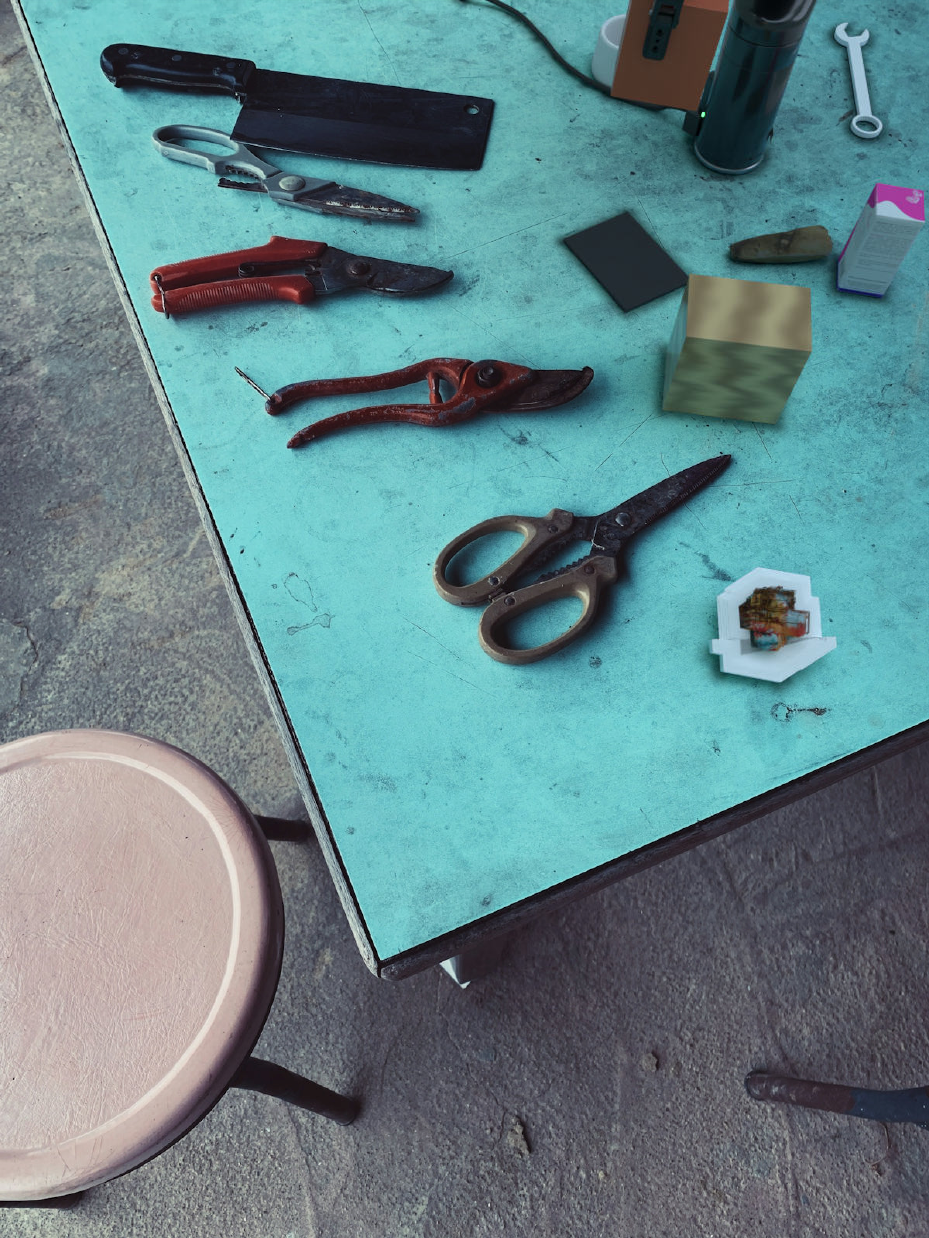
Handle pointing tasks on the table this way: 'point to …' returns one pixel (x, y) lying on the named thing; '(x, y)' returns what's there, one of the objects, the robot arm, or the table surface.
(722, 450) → the table surface
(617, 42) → the mug
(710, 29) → the block
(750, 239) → the stone
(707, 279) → the stand
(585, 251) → the mat
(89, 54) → the table surface
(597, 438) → the table surface
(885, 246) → the supplement box
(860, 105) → the wrench
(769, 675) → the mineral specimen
